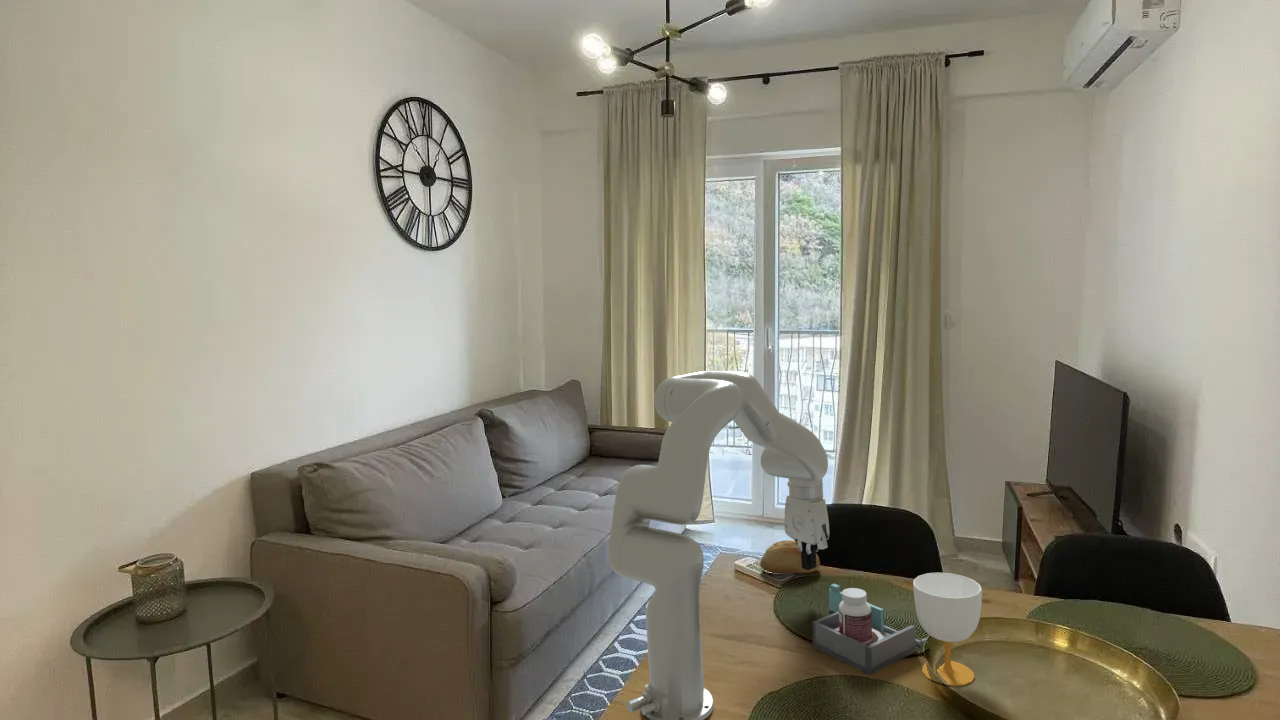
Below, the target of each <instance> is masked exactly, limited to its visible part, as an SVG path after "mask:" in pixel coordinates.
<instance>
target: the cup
mask: <svg viewBox="0 0 1280 720" xmlns="http://www.w3.org/2000/svg"><path fill="white" fill-rule="evenodd" d="M912 584H913V596H914V597H913V598H914V605H915V612H916V616H917V619H918V623H919V624H920V626H921V627H922V628H923V630H924V631H925V632H926V633H927V634H928V635H929V636H930V637H932V638H934V639H936V640H938V641H941V642H943V643H944V646H943V647H944V660H945V663H944V664H943V665H942V666H940V667H939V669H937V672H938V673H939V675H940V676H941V677H942V678H943V679H944V680H945V681H946V682H947V683H948V684H949V685H951V686H950V687H962V686H963V687H964V686H967V685H969V684H972V683H973V682H974V680H975V678H976V677H975V672H974V671H973V670H972V669H970V667H968V666H966V665H965V664H962V663H960V662H958V661H955V660H954V661H953V660H952V658H951V654H952V653H951V651H952V643H958V642H963V641H965V640H967V639H969V638H970V637H971V636H972V634H973V633H974V632H975V631H976V629H977V628H978V625H979V622H980V618H981V612H982V604H983V603H982V602H983V590H982V586H981V585H980V583H978V582H977V581H976V580H975V579H972V578H969V577H967V576H964V575H961V574H956V573H950V572H949V573H948V572H929V573H928V572H927V573H924V574H921V575H917V577H915V578H914V579H913V582H912ZM926 663H927V662H925V663H924V664H923V665H922V667H921V670H922V674H923V675H924V676H925V678H927V679H928V680H930V681H932V680H931V678H930V676H929V674H928V671H927V667H926Z"/></svg>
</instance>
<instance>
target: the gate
mask: <svg viewBox="0 0 1280 720" xmlns="http://www.w3.org/2000/svg"><path fill="white" fill-rule="evenodd" d="M828 600H829V601H828V603H829V606H828V607H829V609H828V610H829V611H830V610H831V611H830V612H832V611H833V612H832V613H834V612H837V611H839V604H840V602H841V601H843V599H842V591H841V585H839V584H836V583H832V584H830V588H828ZM869 605H870V606H871V621H872V626H873V627H875V628H877V629H880V630H882V631H884V624H885V623H884V608H881V607H879V606H877V605H874V604H871V603H869ZM884 632H885V631H884Z"/></svg>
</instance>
